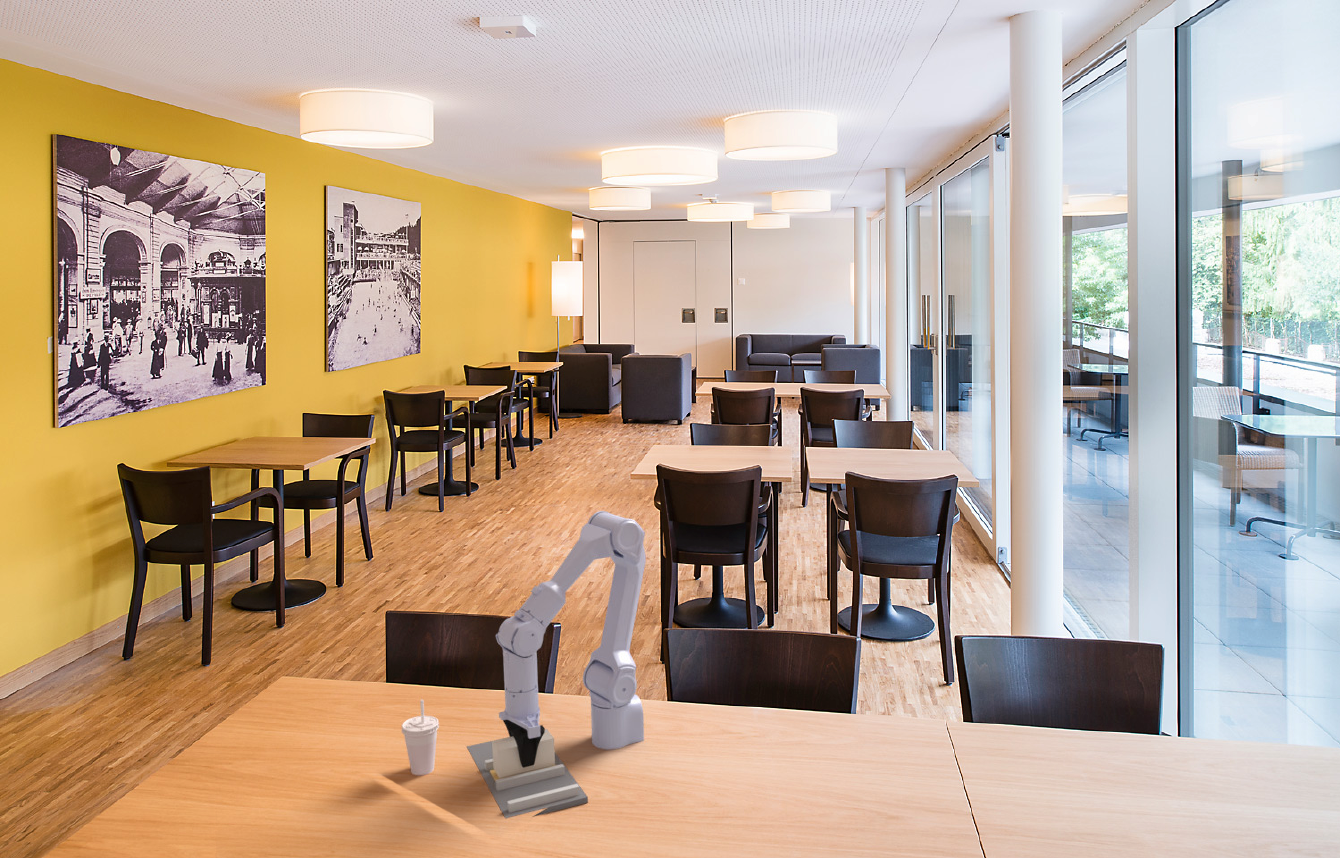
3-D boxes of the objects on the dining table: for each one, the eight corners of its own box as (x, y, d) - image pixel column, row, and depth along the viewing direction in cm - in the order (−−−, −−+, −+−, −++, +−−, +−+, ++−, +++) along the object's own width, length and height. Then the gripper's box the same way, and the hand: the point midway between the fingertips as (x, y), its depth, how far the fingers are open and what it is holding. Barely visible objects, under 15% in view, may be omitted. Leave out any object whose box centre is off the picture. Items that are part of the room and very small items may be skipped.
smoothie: (431, 785, 158) (427, 709, 156) (397, 782, 159) (393, 706, 157) (447, 767, 164) (443, 693, 162) (414, 764, 165) (410, 691, 164)
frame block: (547, 755, 164) (547, 729, 163) (555, 765, 160) (554, 738, 160) (493, 768, 160) (492, 741, 159) (499, 778, 156) (498, 751, 156)
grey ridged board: (539, 735, 176) (538, 723, 176) (587, 802, 152) (587, 788, 151) (467, 751, 170) (466, 738, 170) (505, 824, 146) (505, 809, 145)
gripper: (488, 675, 163) (491, 747, 165) (510, 706, 150) (513, 784, 152) (526, 668, 166) (528, 738, 168) (551, 698, 153) (553, 774, 155)
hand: (524, 759), depth 160 cm, fingers closed on frame block, 4 cm apart
